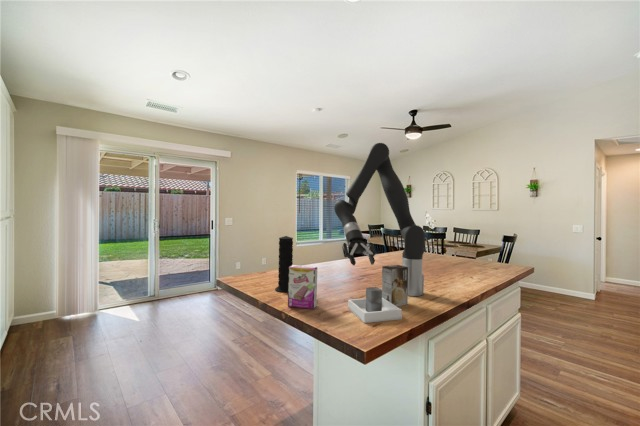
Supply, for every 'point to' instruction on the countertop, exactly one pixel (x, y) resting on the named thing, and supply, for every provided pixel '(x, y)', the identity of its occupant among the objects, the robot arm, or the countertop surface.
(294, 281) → the candy bar box
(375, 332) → the countertop surface
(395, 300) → the coffee box
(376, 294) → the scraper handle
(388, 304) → the tray
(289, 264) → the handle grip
